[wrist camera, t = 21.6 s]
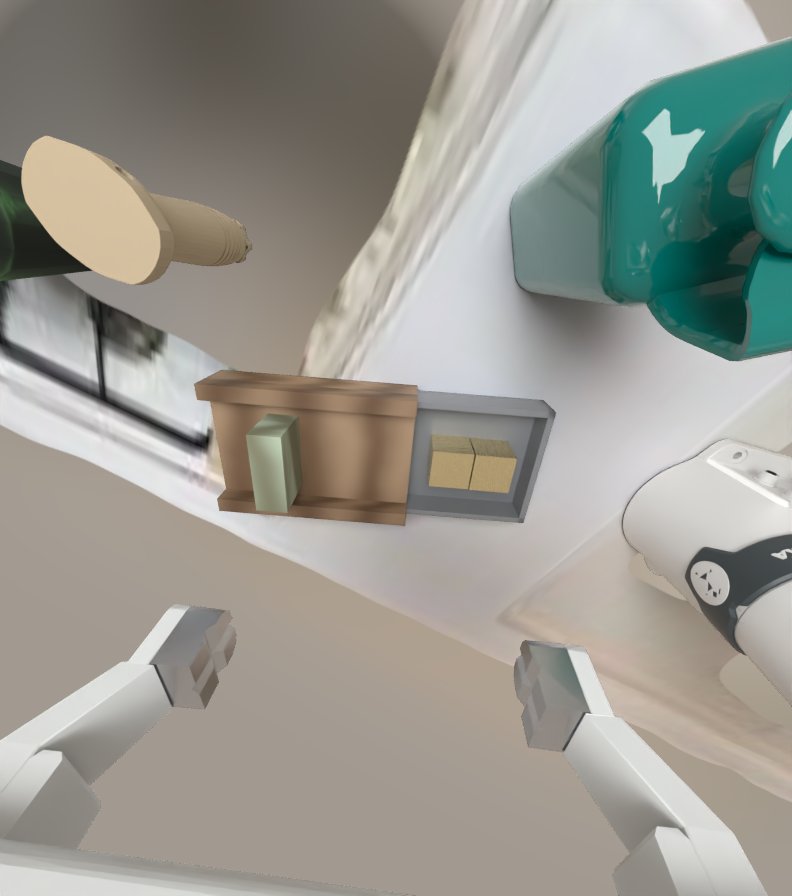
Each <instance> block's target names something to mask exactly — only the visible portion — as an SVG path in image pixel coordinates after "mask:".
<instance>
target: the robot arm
mask: <svg viewBox="0 0 792 896" xmlns="http://www.w3.org/2000/svg"><path fill="white" fill-rule="evenodd" d="M623 531H624V534H625V537H626V539H627V541H628V542H629V543H630V545H631V546H632V547H633V548H635V549H636V550H637V551H638V552H640V553H641V554H642V555H643V556H644V559H645V562H646V565H647V566H648V568H649V569H650V570H651V571H652V572H653V573H654V574H656V575H660V576H664V578H665V579H666V580H667V581H668V582H669V583H670V584H671V585H672V586H673V587H674V588H675V589H677V591H679V592H680V594H681V595H683V596H684V597H685V598H686V599H687V600H688V601H689V602H690V603H691V604H692V605H693V606H694V607H695V608H696V609H697V610H698V611H699V612H700V613H702V614H704V615H705V616H706V617H707V619H708V620H709V621H710V622H711V623H712V624H713V626H714V627H715V630H716V631H717V632H718V633H719V634H720V635H721V636H722V637H723V638H724V639H725V640H727V641H728V642H729V643H730V644H731V645H732V647H733V648H735V649H736V650H737V651H738V652H740V653H742V654H744V655H746V656H748V657H749V658H750V660H751V661H752V662H753V663H754V664H755V665H756V666H757V667H758V669H759V670H760V671H761V672H762V673H763V674H764V676H765V677H766V678H767V679H768V680H769V681H770V682H771V683H772V685H773V686H774V687H775V688H776V689H777V690H778V692H779V693H780V694H781V695H782V696H783V697H784V698H785V700H786V701H787V702H788V703H789V704H790V705H791V706H792V457H790V456H786V455H783V454H779V453H776V452H772V451H769V450H765V449H762V448H758V447H755V446H751V445H748V444H744V443H741V442H737V441H734V440H730V439H724V440H721V441H718V442H716V443H715V444H713V445H711V446H710V447H709V448H707V449H706V450H704V451H703V452H702V453H700V454H699V455H698V456H697V457H695V458H693V459H691V460H688V461H686V462H683V463H681V464H678V465H676V466H673V467H671V468H669V469H667V470H665V471H663V472H661V473H660V474H658V475H657V476H655V477H654V478H652V479H651V480H650V481H648V482H647V483H646V484H645V485H644V486H643V487H642V488H641V489H640V490H639V491H638V492H637V493H636V494H635V495H634V497H633V498H632V500H631V501H630V503H629V505H628V507H627V509H626V511H625V514H624V518H623ZM231 620H232V615H231V612H230V610H222V609H214V608H205V607H196V606H190V605H189V606H188V605H179V604H175V605H173V606H172V607H171V608H169V609H168V610H167V612H166V613H165V614H164V615H163V617H162V618H161V619H160V621H159V622H158V624H157V625H156V626H155V627H154V628H153V630H152V631H151V632H150V634H149V635H148V636H147V637H146V639H145V640H144V641H143V643H142V644H141V645H140V647H139V648H138V649H137V650H136V652H135V653H134V654H133V656H132V657H131V658H130V660H129V661H128V662H123V661H122V662H121V663H119V664H118V665H116V666H114V667H113V668H111V669H110V670H109V671H107V672H105V673H104V674H102V675H101V676H99V677H97V678H96V679H94V680H93V681H92V682H90V683H88V684H87V685H85V686H84V687H82V688H81V689H79V690H77V691H76V692H74V693H73V694H71V695H70V696H68V697H67V698H65V699H64V700H62V701H60V702H59V703H57V704H56V705H54V706H53V707H51V708H50V709H48V710H47V711H45V712H43V713H42V714H40V715H39V716H37V717H36V718H34V719H33V720H31V721H30V722H28V723H27V724H25V725H23V726H22V727H20V728H19V729H17V730H16V731H14V732H13V733H11V734H9V735H8V736H7V737H5V738H3V739H2V740H0V896H416V895H408V894H401V893H394V892H387V891H379V890H372V889H365V888H358V887H350V886H343V885H336V884H328V883H321V882H313V881H307V880H299V879H292V878H284V877H277V876H270V875H263V874H256V873H248V872H241V871H234V870H227V869H219V868H212V867H205V866H197V865H190V864H182V863H176V862H168V861H161V860H154V859H146V858H139V857H131V856H124V855H117V854H110V853H102V852H96V851H88V850H81V849H77V847H78V846H79V844H80V843H81V841H82V839H83V838H84V836H85V834H86V832H87V831H88V829H89V827H90V826H91V824H92V822H93V821H94V819H95V817H96V815H97V814H98V812H99V811H100V809H101V801H100V799H99V798H98V797H97V795H96V794H95V793H94V792H93V791H92V789H91V788H90V787H89V786H90V785H91V784H92V783H93V782H94V781H95V780H96V779H97V778H99V777H100V776H101V775H102V774H103V773H104V772H105V771H106V770H107V769H108V768H109V767H111V765H113V764H114V763H115V762H116V761H117V760H118V759H119V758H120V757H121V756H122V755H124V754H125V753H126V752H127V751H128V750H129V749H130V748H131V747H132V746H133V745H134V744H135V743H136V742H138V741H139V740H140V739H141V738H142V737H143V736H144V735H145V734H146V733H147V732H148V731H149V730H150V729H152V728H153V727H154V726H155V725H156V724H157V723H158V722H159V721H160V720H161V719H162V718H163V717H165V716H166V715H167V714H168V713H169V712H170V711H171V710H172V709H173V708H172V707H182V708H194V709H205V708H206V706H207V704H208V702H209V700H210V698H211V696H212V694H213V693H214V690H215V688H216V687H217V684H218V683H219V680H218V672H219V671H220V670H222V669H223V668H224V667H226V666H227V665H228V662H229V661H230V659H231V657H232V654H233V651H234V648H235V644H236V631H235V628H234V627H232V626H231V625H230V622H231ZM520 650H521V654H522V655H521V656H520V657H518V658H517V659H516V662H515V666H514V682H515V689H516V693H517V697H518V699H519V700H520V701H521V703H522V704H523V705H524V706H525V709H524V711H523V714H522V716H521V717H522V721H523V726H524V730H525V735H526V739H527V744H528V747H530V748H537V749H544V750H550V751H557V752H564V753H563V755H564V757H565V759H566V760H567V761H568V763H569V764H570V766H571V767H572V769H573V770H574V772H575V773H576V775H577V776H578V778H579V779H580V781H581V782H582V783H583V785H584V786H585V788H586V789H587V791H588V792H589V794H590V795H591V797H592V798H593V800H594V801H595V803H596V804H597V806H598V807H599V809H600V810H601V812H602V813H603V815H604V816H605V817H606V819H607V820H608V822H609V823H610V825H611V826H612V828H613V829H614V831H615V832H616V834H617V835H618V837H619V838H620V840H621V841H622V842H623V844H624V845H625V847H626V848H627V850H628V851H629V853H630V854H629V855H628V856H627V857H626V858H625V859H624V860H623V861H622V862H621V863H620V864H619V865H618V866H617V867H616V868H615V870H614V873H613V875H612V876H613V879H614V883H615V886H616V889H617V893H618V896H768V895H767V894H766V892H765V890H764V888H763V886H762V885H761V883H760V881H759V879H758V877H757V875H756V873H755V872H754V870H753V868H752V866H751V864H750V863H749V861H748V859H747V857H746V855H745V853H744V852H743V850H742V848H741V846H740V844H739V843H738V841H737V839H736V837H735V835H734V834H733V833H732V832H731V831H730V829H728V827H727V826H726V825H725V824H724V823H723V822H722V821H721V820H720V819H719V818H718V817H717V816H716V815H715V814H714V813H713V812H712V811H711V810H710V809H709V808H708V807H707V806H706V805H705V804H704V803H703V802H702V801H701V799H700V798H699V797H698V796H697V795H696V794H695V793H694V792H693V791H692V790H691V789H690V788H689V787H688V786H687V785H686V784H685V783H684V782H683V781H682V780H681V779H680V778H679V777H678V776H677V775H676V774H675V773H674V772H673V771H672V769H671V768H670V767H669V766H668V765H667V764H666V763H665V762H664V761H663V760H662V759H661V758H660V757H659V756H658V755H657V754H656V753H655V752H654V751H653V750H652V749H651V748H650V747H649V746H648V745H647V744H646V743H645V742H644V740H643V739H642V738H641V737H639V735H638V734H637V733H636V732H635V731H634V730H633V729H632V728H631V727H630V726H629V725H628V724H627V723H626V722H625V721H624V720H623V719H622V718H621V717H616V716H614V713H613V711H612V709H611V706H610V704H609V702H608V700H607V697H606V695H605V693H604V690H603V688H602V686H601V683H600V681H599V679H598V676H597V674H596V672H595V670H594V667H593V665H592V663H591V660H590V658H589V656H588V653H587V651H586V650H585V649H584V648H583V647H582V646H578V645H566V644H561V643H551V642H539V641H527V640H525V641H523V642H522V644H521V647H520Z"/></svg>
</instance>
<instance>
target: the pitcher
mask: <svg viewBox="0 0 792 896" xmlns="http://www.w3.org/2000/svg"><path fill="white" fill-rule="evenodd" d="M510 214H511V227H512V240H513V253H514V266H515V277H516V279H517V281H518V283H519V285H520V286H521V287H522V288H524V289H525V290H527V291H528V292H534V293H540V294H546V295H552V296H559V297H565V298H571V299H578V300H584V301H590V302H596V303H602V304H609V305H615V306H621V307H628V308H637V307H641V306H646V305H647V306H648V308H649V310H650V311H651V313H652V315H653V316H654V317H655V319H656V320H657V321H658V322H659V324H660V325H661V326H662V327H663V328H664V329H665V330H667V331H668V332H669V333H671V334H672V335H674V336H675V337H677V338H679V339H681V340H683V341H685V342H687V343H690V344H692V345H694V346H697V347H699V348H701V349H703V350H706V351H708V352H710V353H713V354H715V355H718V356H720V357H722V358H724V359H727V360H729V361H742V360H747V359H752V358H757V357H762V356H767V355H772V354H777V353H782V352H787V351H792V36H791V37H788V38H785V39H781V40H778V41H775V42H772V43H769V44H766V45H762V46H759V47H756V48H753V49H750V50H747V51H743V52H740V53H737V54H734V55H731V56H727V57H724V58H721V59H718V60H715V61H712V62H708V63H705V64H702V65H699V66H696V67H693V68H689V69H686V70H683V71H680V72H677V73H673V74H670V75H667V76H664V77H661V78H658V79H654V80H651V81H649V82H647V83H645V84H644V85H643V86H642V87H640V88H639V89H638V90H637V91H635V92H634V93H633V94H632V95H630V96H629V97H628V98H627V99H625V100H624V101H623V102H622V103H620V104H619V105H618V106H617V107H615V108H614V109H613V110H612V111H611V112H609V113H608V114H607V115H606V116H604V117H603V118H602V119H601V120H600V121H598V122H597V123H596V124H595V125H593V126H592V127H591V128H590V129H588V130H587V131H586V132H585V133H584V134H582V135H581V136H580V137H579V138H577V139H576V140H575V141H574V142H572V143H571V144H570V145H569V146H568V147H566V148H565V149H564V150H563V151H561V152H560V153H559V154H558V155H556V156H555V157H554V158H553V159H552V160H550V161H549V162H548V163H547V164H545V165H544V166H543V167H542V168H541V169H539V170H538V171H537V172H536V173H534V174H533V175H532V176H531V177H529V178H528V179H527V180H526V181H525V182H523V183H522V184H521V185H520V187H519V188H518V190H517V191H516V193H515V195H514V196H513V200H512V204H511V208H510Z"/></svg>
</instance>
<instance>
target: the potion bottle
mask: <svg viewBox="0 0 792 896" xmlns="http://www.w3.org/2000/svg"><path fill="white" fill-rule="evenodd" d="M21 180H22V168H21V167H18V166H15V165H12V164H10V163H7V162H4V161H1V160H0V281H5V280H13V279H22V278H31V277H40V276H48V275H57V274H66V273H75V272H83V271H92V270H91V269H90V268H88V267H87V266H85V265H84V264H83V263H81V262H80V261H79V260H77V259H76V258H75V257H73V256H72V255H71V254H69V253H68V252H67V251H66V250H65V249H63V248H62V247H61V246H60V245H59V244H58V243H57V242H56V241H55V240H54V239H53V238H52V237H51V235H50V234H49V233H48V232H47V230H46V229H45V228H44V226H43V225H42V224H41V222H40V221H39V220H38V218H37V217H36V216H35V214H34V213H33V211H32V210H31V209H30V207H29V206H28V204H27V203H26V201H25V197H24V194H23V189H22V183H21Z"/></svg>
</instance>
